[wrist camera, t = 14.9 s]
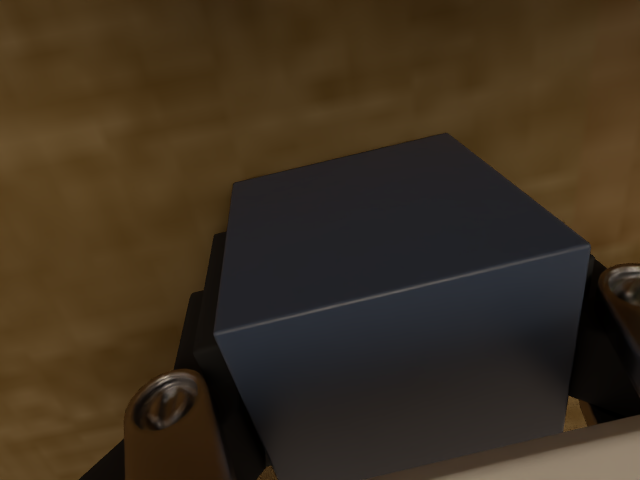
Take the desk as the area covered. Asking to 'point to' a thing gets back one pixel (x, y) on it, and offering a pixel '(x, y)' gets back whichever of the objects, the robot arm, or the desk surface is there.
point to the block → (397, 311)
